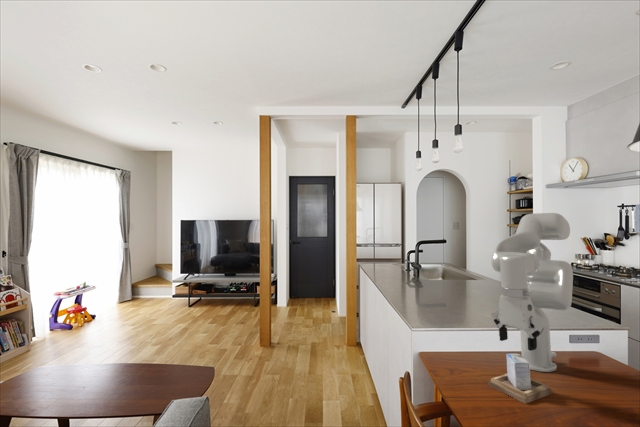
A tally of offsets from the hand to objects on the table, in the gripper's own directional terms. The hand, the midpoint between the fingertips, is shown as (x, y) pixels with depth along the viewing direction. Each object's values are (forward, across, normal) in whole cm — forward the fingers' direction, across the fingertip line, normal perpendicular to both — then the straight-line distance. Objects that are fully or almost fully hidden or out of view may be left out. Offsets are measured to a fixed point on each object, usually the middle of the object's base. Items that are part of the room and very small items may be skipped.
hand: (517, 344), depth 108 cm
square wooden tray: (+14, 0, +1) cm, 14 cm away
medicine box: (+13, 0, +1) cm, 13 cm away
